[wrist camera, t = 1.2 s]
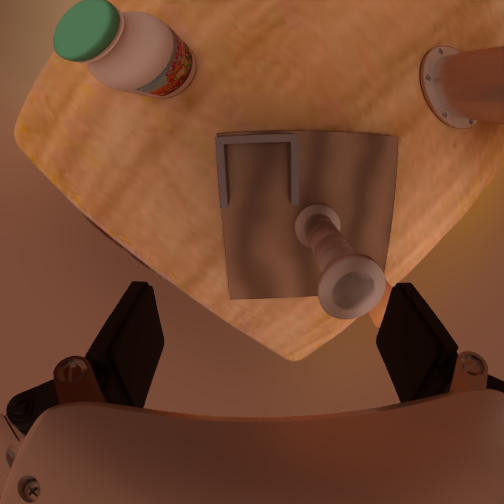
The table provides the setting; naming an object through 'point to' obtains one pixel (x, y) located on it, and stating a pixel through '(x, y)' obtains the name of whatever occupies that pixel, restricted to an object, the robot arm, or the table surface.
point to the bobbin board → (319, 181)
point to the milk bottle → (125, 49)
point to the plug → (380, 307)
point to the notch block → (258, 138)
